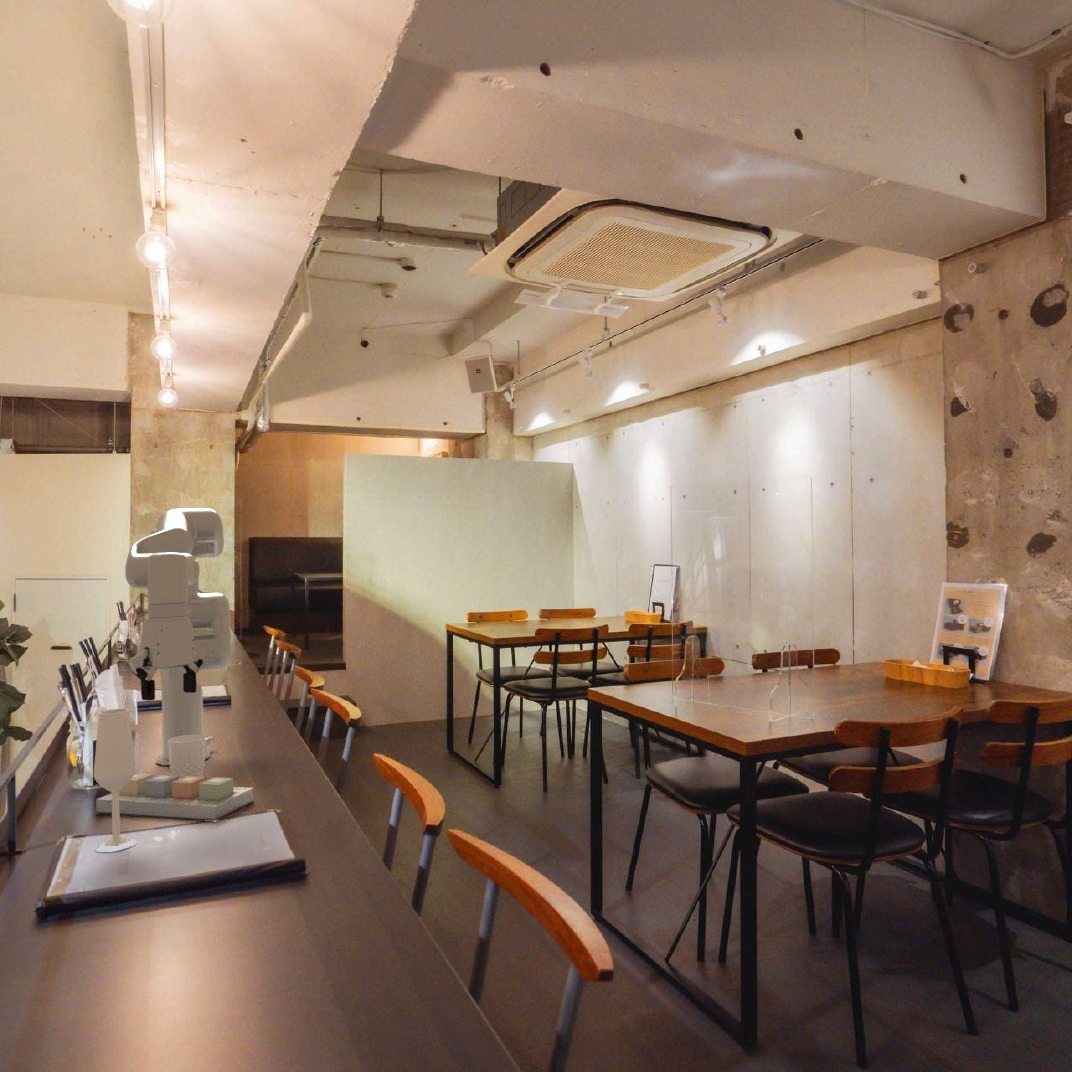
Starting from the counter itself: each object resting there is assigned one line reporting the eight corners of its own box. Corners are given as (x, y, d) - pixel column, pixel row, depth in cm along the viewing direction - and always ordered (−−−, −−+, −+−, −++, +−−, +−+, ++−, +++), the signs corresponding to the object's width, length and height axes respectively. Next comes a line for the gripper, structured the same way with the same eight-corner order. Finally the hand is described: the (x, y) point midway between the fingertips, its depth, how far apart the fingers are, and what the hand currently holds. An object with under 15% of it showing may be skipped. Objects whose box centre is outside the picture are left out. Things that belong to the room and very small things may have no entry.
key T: (161, 791, 162) (160, 774, 162) (179, 792, 161) (179, 775, 161) (145, 798, 158) (144, 780, 158) (163, 799, 157) (163, 781, 157)
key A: (187, 792, 161) (187, 775, 161) (206, 793, 159) (205, 776, 160) (172, 799, 156) (171, 781, 156) (191, 800, 155) (190, 782, 155)
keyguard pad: (140, 795, 168) (140, 781, 168) (253, 802, 161) (253, 788, 161) (96, 814, 156) (96, 799, 156) (215, 822, 149) (215, 806, 149)
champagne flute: (97, 842, 140) (95, 709, 141) (138, 836, 143) (136, 706, 143) (92, 855, 134) (90, 716, 134) (135, 848, 137) (133, 712, 137)
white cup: (191, 787, 173) (191, 742, 173) (160, 786, 175) (160, 742, 175) (213, 777, 181) (212, 734, 181) (183, 776, 182) (182, 733, 183)
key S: (135, 789, 164) (135, 772, 164) (153, 790, 163) (152, 773, 163) (118, 796, 160) (118, 778, 160) (137, 797, 158) (136, 779, 158)
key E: (214, 794, 159) (214, 776, 159) (233, 795, 158) (233, 777, 158) (199, 801, 155) (199, 783, 155) (219, 802, 153) (218, 784, 154)
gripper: (191, 610, 169) (193, 689, 168) (117, 615, 153) (118, 702, 153) (215, 609, 165) (217, 690, 165) (142, 615, 150) (143, 704, 149)
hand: (169, 696), depth 159 cm, fingers open, 9 cm apart
